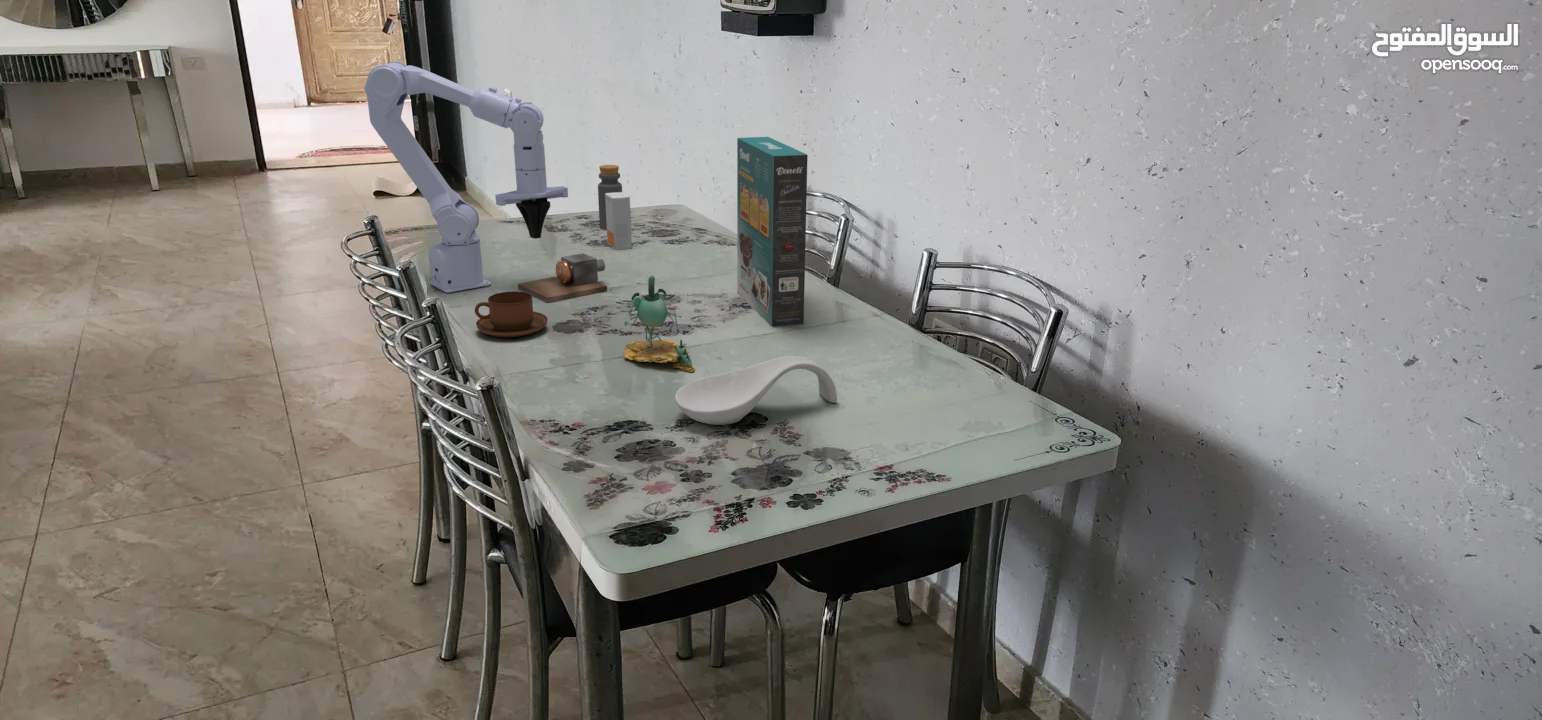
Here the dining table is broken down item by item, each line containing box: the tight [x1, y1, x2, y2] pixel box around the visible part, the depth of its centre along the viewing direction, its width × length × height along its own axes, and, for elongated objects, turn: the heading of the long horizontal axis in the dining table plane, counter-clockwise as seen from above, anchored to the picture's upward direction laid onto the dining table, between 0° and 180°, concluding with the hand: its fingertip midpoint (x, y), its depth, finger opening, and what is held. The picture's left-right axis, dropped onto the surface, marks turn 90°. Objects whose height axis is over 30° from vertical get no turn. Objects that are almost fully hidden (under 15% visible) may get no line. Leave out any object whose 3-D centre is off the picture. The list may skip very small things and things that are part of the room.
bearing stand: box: [517, 253, 608, 304], centre depth 198 cm, size 13×12×6 cm
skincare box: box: [605, 191, 633, 251], centre depth 230 cm, size 6×4×12 cm
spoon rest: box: [674, 355, 838, 426], centre depth 143 cm, size 24×12×7 cm, turn 115°
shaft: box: [555, 258, 606, 284], centre depth 201 cm, size 9×4×4 cm, turn 130°
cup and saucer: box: [474, 290, 548, 338], centre depth 175 cm, size 12×12×6 cm
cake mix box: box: [736, 136, 808, 328], centre depth 185 cm, size 22×6×30 cm, turn 18°
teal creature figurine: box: [623, 275, 696, 373], centre depth 162 cm, size 10×18×15 cm, turn 31°
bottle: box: [597, 164, 623, 230], centre depth 248 cm, size 6×6×15 cm
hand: (535, 237), depth 200 cm, fingers closed
